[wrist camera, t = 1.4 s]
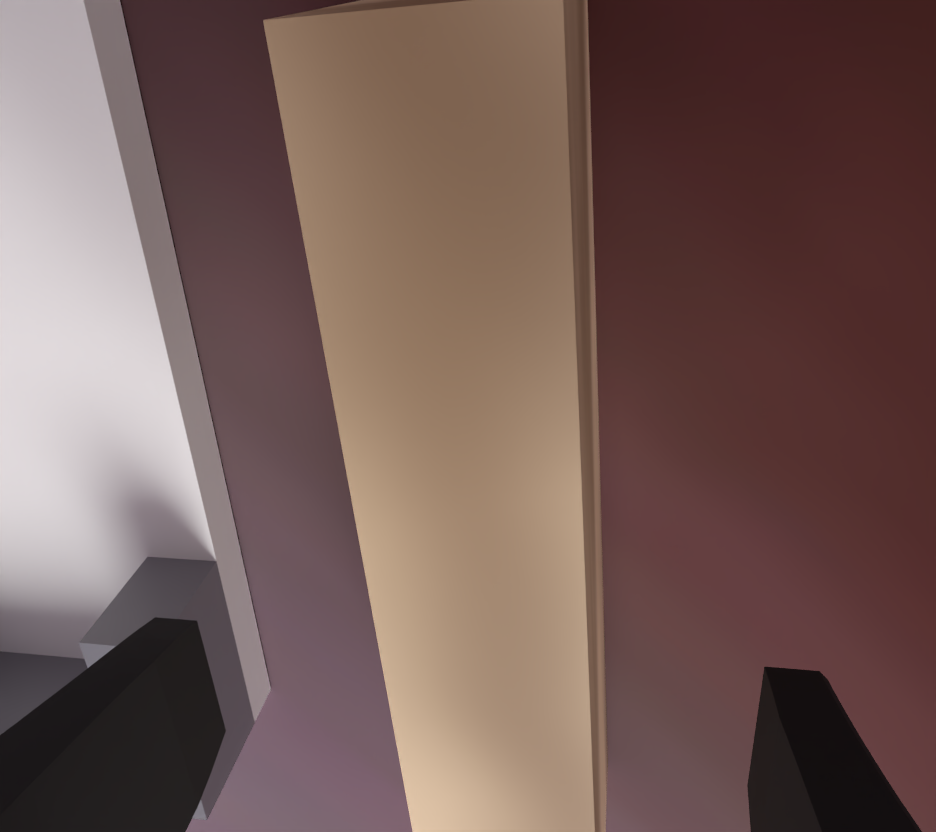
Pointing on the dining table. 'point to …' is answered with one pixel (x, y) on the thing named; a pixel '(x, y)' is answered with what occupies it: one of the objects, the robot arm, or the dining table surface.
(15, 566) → the cradle
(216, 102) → the dining table surface
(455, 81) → the oak slat
